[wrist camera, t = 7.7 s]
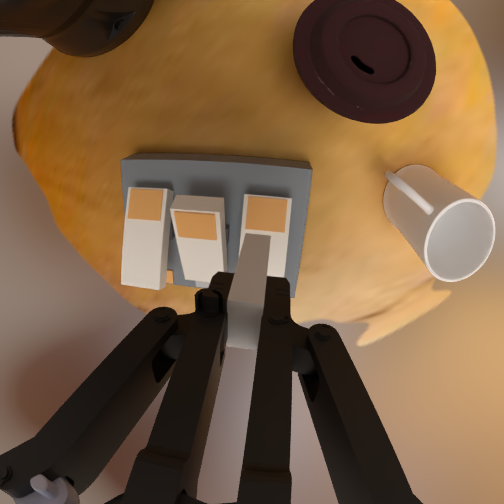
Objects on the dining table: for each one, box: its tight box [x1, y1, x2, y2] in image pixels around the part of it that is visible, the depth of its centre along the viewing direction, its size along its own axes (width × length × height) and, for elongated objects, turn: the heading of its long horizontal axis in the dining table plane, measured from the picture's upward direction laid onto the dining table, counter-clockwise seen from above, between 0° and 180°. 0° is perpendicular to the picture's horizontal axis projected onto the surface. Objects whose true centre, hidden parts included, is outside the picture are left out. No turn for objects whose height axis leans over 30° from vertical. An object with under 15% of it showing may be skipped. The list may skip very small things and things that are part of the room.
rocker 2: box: [170, 195, 228, 282], centre depth 30 cm, size 10×4×2 cm, turn 179°
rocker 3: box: [239, 194, 292, 277], centre depth 29 cm, size 10×4×2 cm, turn 174°
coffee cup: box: [293, 0, 436, 124], centre depth 20 cm, size 10×10×15 cm
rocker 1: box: [121, 187, 174, 290], centre depth 30 cm, size 10×4×2 cm, turn 174°
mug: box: [383, 164, 495, 282], centre depth 27 cm, size 12×8×12 cm
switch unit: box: [121, 153, 312, 298], centre depth 34 cm, size 15×20×5 cm
